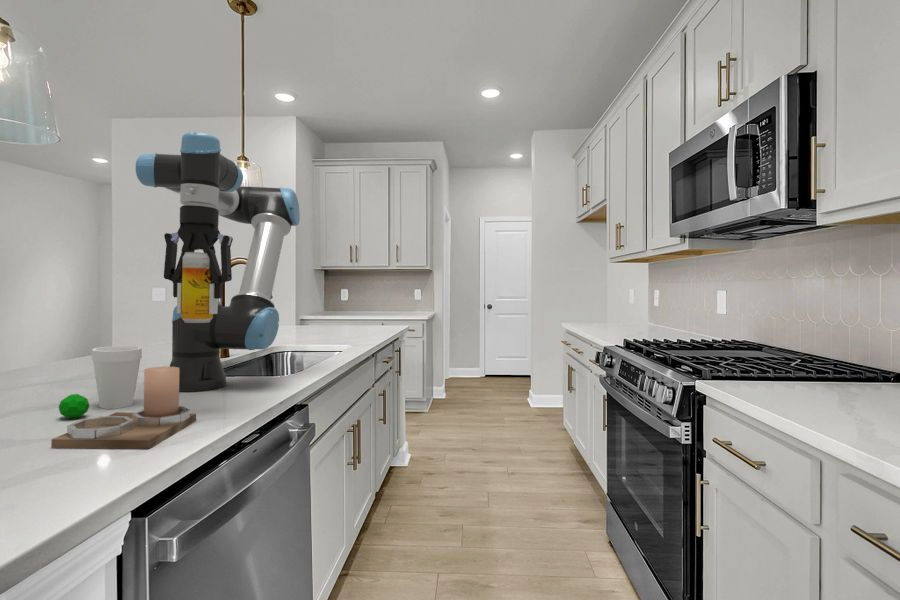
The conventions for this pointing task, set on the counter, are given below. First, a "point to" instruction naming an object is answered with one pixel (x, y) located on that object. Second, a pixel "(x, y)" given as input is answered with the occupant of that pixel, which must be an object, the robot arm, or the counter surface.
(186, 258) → the beer can
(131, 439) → the pin board
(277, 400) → the counter surface
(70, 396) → the polyhedron
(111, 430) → the socket collars
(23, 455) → the counter surface
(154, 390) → the pin
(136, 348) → the foam cup
